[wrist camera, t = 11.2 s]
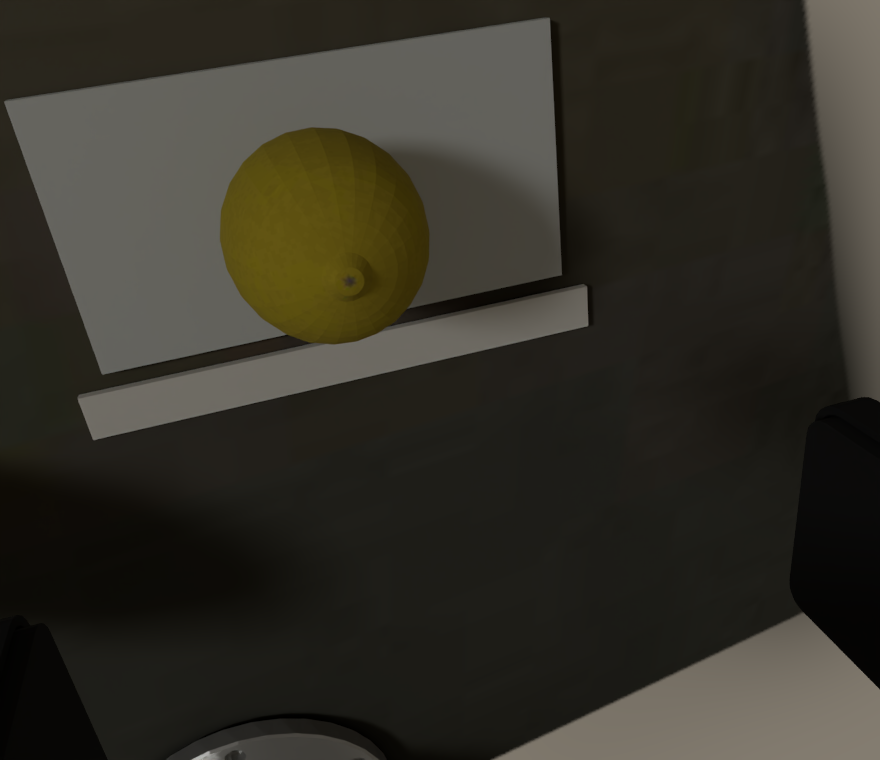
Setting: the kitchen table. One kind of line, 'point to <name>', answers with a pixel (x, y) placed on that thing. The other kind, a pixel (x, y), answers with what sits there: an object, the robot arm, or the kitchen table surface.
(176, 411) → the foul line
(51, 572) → the kitchen table surface
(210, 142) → the mat
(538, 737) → the kitchen table surface
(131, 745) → the kitchen table surface
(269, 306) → the lemon
